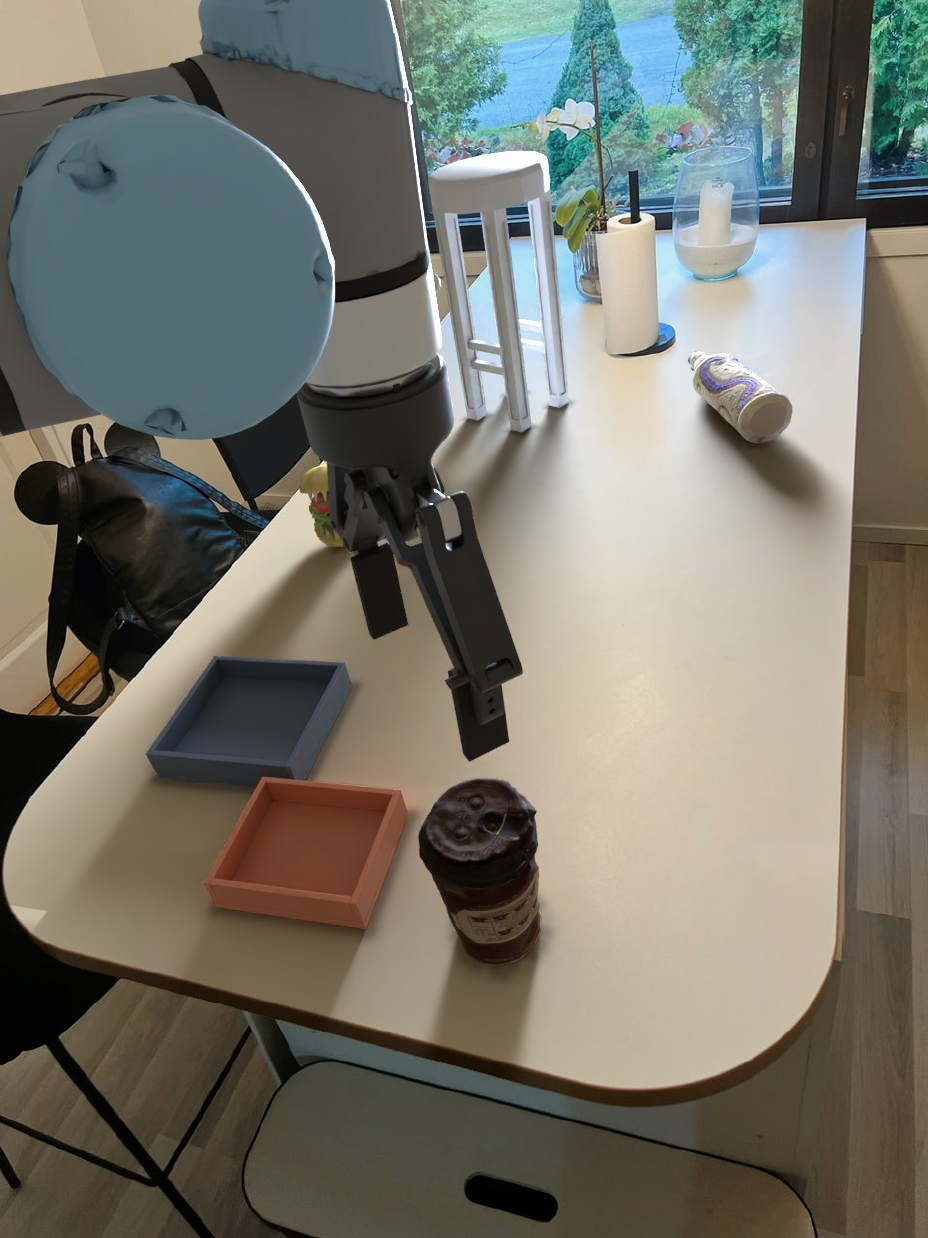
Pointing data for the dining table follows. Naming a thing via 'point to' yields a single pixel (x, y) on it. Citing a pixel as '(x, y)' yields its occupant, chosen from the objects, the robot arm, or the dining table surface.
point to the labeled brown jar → (485, 867)
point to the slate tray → (252, 721)
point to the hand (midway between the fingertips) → (433, 684)
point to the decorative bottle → (740, 396)
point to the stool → (501, 275)
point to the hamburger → (320, 505)
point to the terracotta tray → (309, 851)
